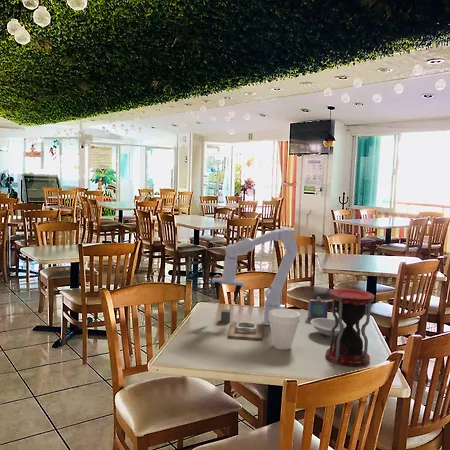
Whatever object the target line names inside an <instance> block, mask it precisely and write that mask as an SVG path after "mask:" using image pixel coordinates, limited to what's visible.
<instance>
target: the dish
mask: <svg viewBox="0 0 450 450" xmlns="http://www.w3.org/2000/svg"><path fill="white" fill-rule="evenodd" d="M309 322H310V324H311V325H312V327H314V329H315V330H316V331H317V332H318V333H320V334H323V335H325V336H327V337H331V330H332V328H333V327H334V325H335V319H333V318H332V319H331V318H328V317H327V318H315V319H311V320H310V321H309ZM342 323H343V328H345V327H346V324H345V323H344V322H342ZM339 331H340V325H339V324H338V327H337V328H336V329H335V330H334V336H336V335H337V334H338V333H339Z"/></svg>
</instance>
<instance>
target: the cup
mask: <svg viewBox="0 0 450 450" xmlns="http://www.w3.org/2000/svg"><path fill="white" fill-rule="evenodd" d="M300 316H301V315H300V312H298V311H296V310H294V309H293V310H292V309H289V308H285V309H273V310H270V311H269V318H268V320H269V322H270V325H269V326H270V332H271V338H272V343H273V347H274V348H275V349H278V350H282V351H283V350H285V351H286V350H290V349H291V348H292V345H293V343H294V339H295V336H296V332H297V329H298V327H299V323H300V321H301V319H300Z"/></svg>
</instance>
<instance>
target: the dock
mask: <svg viewBox="0 0 450 450" xmlns="http://www.w3.org/2000/svg"><path fill="white" fill-rule="evenodd" d="M263 328H264V325H263V323H257V322H249V321H230V327H229V332H228V335H227V336H228V339H236V340H237V339H238V340H249V341H250V340H251V341H252V340H253V341H263V336H264V335H263V334H264V331H263Z"/></svg>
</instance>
